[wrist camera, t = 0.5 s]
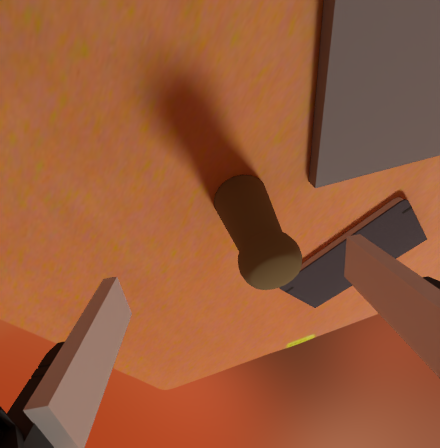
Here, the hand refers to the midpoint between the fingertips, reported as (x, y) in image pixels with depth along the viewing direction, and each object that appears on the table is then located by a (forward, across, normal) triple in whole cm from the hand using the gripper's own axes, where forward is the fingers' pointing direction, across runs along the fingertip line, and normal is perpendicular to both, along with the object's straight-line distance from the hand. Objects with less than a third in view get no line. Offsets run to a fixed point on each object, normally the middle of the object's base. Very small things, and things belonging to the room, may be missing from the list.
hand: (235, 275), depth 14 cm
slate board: (+12, +19, +10) cm, 25 cm away
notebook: (+21, +19, -15) cm, 32 cm away
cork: (+14, +2, 0) cm, 14 cm away
